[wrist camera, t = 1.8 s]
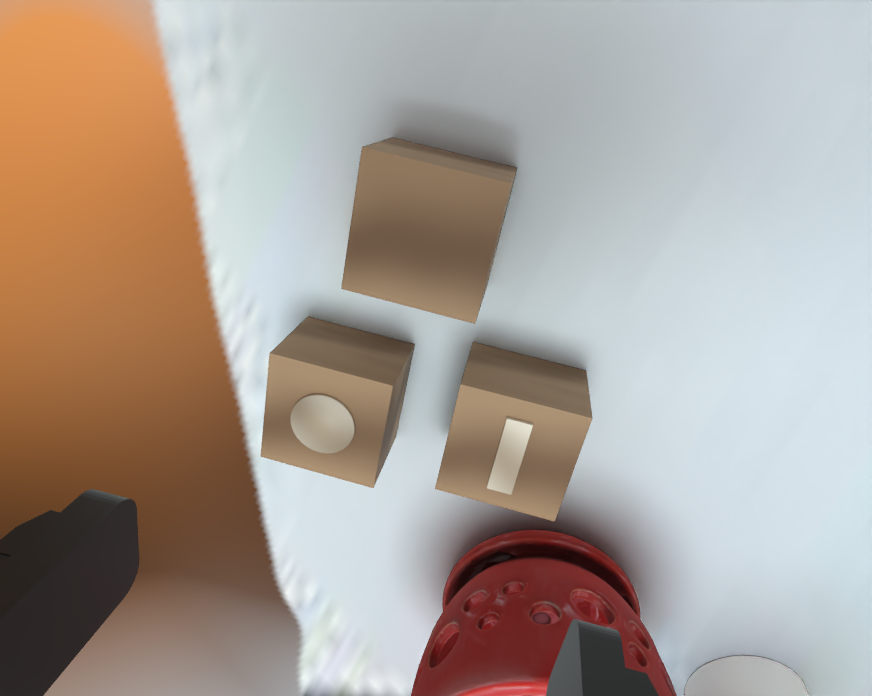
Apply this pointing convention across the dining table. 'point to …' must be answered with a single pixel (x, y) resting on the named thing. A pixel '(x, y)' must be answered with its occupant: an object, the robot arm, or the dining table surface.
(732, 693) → the cylindrical container
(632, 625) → the plant pot
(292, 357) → the cube with circle marking
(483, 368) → the marked walnut block bar
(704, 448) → the dining table surface
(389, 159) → the plain walnut block
